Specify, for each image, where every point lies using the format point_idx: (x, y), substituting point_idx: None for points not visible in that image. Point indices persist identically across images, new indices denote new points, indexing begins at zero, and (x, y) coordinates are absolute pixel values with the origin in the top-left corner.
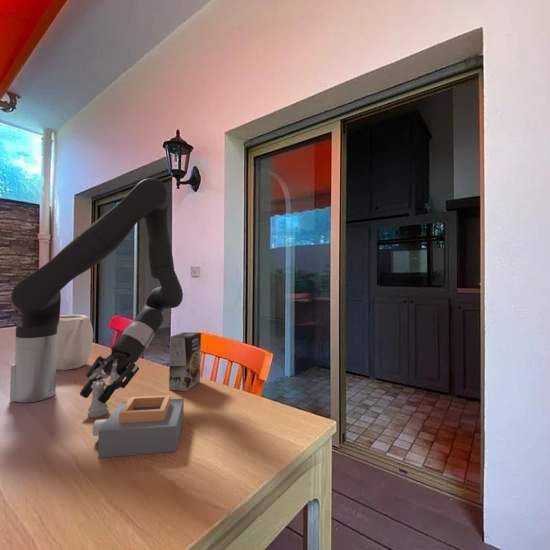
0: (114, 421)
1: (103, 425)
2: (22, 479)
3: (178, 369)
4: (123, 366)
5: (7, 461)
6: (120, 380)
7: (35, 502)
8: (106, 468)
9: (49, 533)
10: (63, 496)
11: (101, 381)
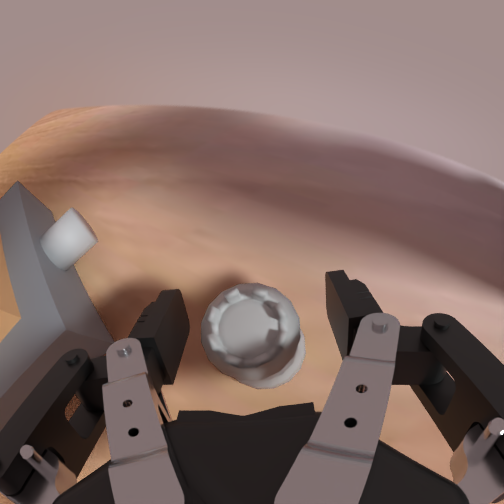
0: (8, 222)
1: (19, 196)
2: (118, 120)
3: None
4: (82, 481)
5: (196, 109)
6: (54, 364)
7: (64, 128)
8: None
9: (27, 135)
10: (43, 151)
11: (259, 357)
